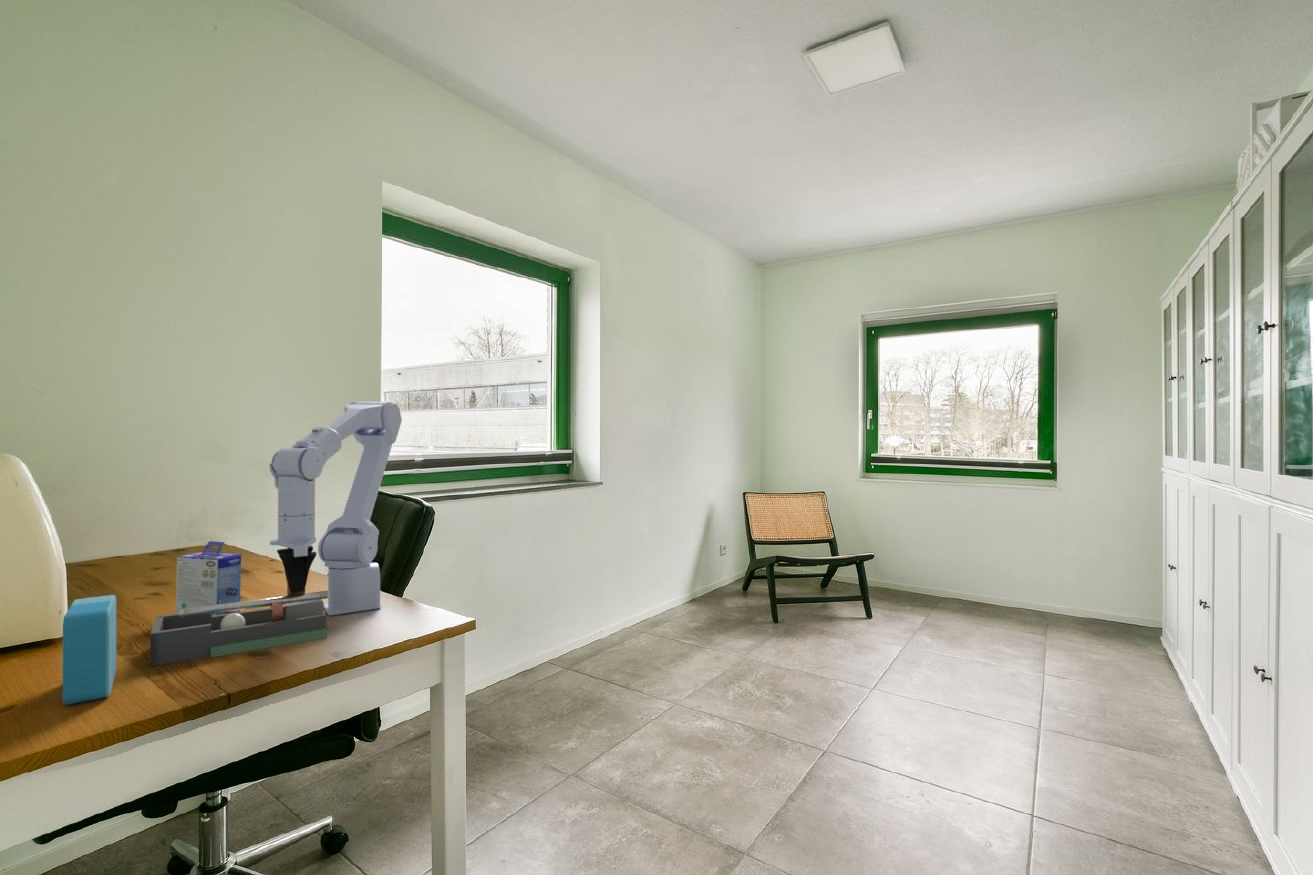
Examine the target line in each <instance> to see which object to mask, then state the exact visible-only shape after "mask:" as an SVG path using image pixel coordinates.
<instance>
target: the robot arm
mask: <svg viewBox="0 0 1313 875" xmlns="http://www.w3.org/2000/svg"><path fill="white" fill-rule="evenodd" d="M402 421H403V419H402V414H401V410H400V408H399V405H398V404H397V403H396V402H395V401H393V400H389V401H358V400H352V401H350V402H349V404H346V405H345V406H344V408H343V413H342V414H341V415H340V416H339V417H338V418H336V420H335V421H333V422H332V423H331V424H330V425H329V426H328V427H327V426H315V427H313V428H312V429H311V432H310V433H309V434H307V435H306V436H304V437H303V438H301V439H299V440H297V441H296V442H295V443H294V444H293V445H292V446H291V447H281V448H280V449H279V450H277V451H276V452H275V453H274V454H273V455H272V458H271V462H270V463H269V464H268V465H269V471H270V473H271V475H272V477H273V479H274V486H275V489H277V539H276V538H275V539H271V540H269V545H270V546H280V547H283V548H280V549H277V550H276V552H277V554H278V558H280V561H281V563H282V565H283V568H284V573H285V578H286V581H287V579H288V585H289V589H290V592H291V593H295V592H303V591H304V590H305V591H306V585H307V581H308V576H309V574H310V569H311V566H312V564H313V562H314V561H315V558H316V556H317V553H318V557H319V558H320V560H321V561H322V562H323V563H324V567H326V568H328V569H327V571H328V573H327V578H328V579H327V581H328V583H327V584H328V585H327V587H328V588H327V591H328V598H327V603H324V609H325V610H324V611H325V612H326V613H327V615H328V616H336V615H337V616H338V615H342V614H343V615H344V614H348V613H349V614H350V613H357V612H362V611H363V612H364V611H369V610H376V609H381V608H382V607H381V573H380V572H381V571H380V566H379V563H378V562H373V560H374V559H375V557H376V556H377V553H378V549H379V548H378V547H379V545H378V542H379V541H378V540H379V535H380V531H379V529H378V528H377V527H376V525H375V524H374V523H373V522H372V521H371V518H372V514H373V510H374V508H375V503H376V501H377V498H378V494H379V491H380V487H381V484H382V480H383V477H384V473H385V470H386V467H387V464H388V460H389V458H390V453H391V450H392V446H393V444H395V443H396V441H397V438H398V434H399V433H400V428H401V425H402ZM351 435H353V437H354V439H355V440H356V442H357V443H359V444H361V445H362V446H363V450H362V454H361V456H360V460H359V464H358V466H357V470H356V473H355V475H354V479H353V480H352V481H353V482H352V485H351V489H350V491H349V494H348V497H347V501H346V503H345V506H344V510H343V512H342V513H343V514H342V515H341V516H339V517H338V518H336V519H335V520H333V521H332V522H330V523H329V524H328V526H327V528H326V530H325V532H324V534H323V535H322V537H321V538H320V540H319V542H318V546H317V552H316V551H313V550H314V547H313V545H314V543H316V541H317V538H316V536H315V535H316V534H315V533H316V527H315V526H316V525H315V524H316V522H315V521H316V509H315V508H316V479H317V478H319V477H320V476H321V474H322V472H323V468H324V466H325V465H326V462H327V461H328V460H330V459H331V458H332V457H333V456H334V455H335V454H337V453H338V452H339V451H340V450H341V449H342V446H343V444H342V443H343V442H342V441H344V440H346V439H347V438H348V437H351Z"/></svg>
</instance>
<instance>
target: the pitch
mask: <svg viewBox="0 0 1313 875" xmlns="http://www.w3.org/2000/svg"><path fill="white" fill-rule="evenodd" d="M324 604H325V603H324V601H323V599H319V600H311V601H304V602H296V603H289V604H284V605H283V620H282V621H275V622H271V607H267V608H265V607H264V608H260V609H259V608H257V609H253V610H252V609H251V610H243V611H240V612H236V613H237V614H240V615H242V616H243V617H244V619H245V626H241V627H235V628H228V629H221V627H220V625H221V621H222V620H223V619H224V618H225V617H226V616H227V615H229V614H233V613H229V614H221V615H214V616H212V614H208V615H200V616H193V617H185V618H181V617H179V615H178V613H177V614H175V613H172V614H170V613H169V614H163V615H156V616H155V619H154V623H153V625H152V629H151V632H150V667H155V666H161V665H167V664H173V663H177V662H184V661H189V660H191V661H192V660H197V659H203V658H208V657H210V658H216V657H222V656H227V655H228V656H229V655H235V654H240V653H245V652H250V651H251V652H252V651H257V650H263V649H270V648H274V647H281V646H282V647H283V646H286V645H293V644H299V643H305V642H304V641H306V642H310V641H311V642H312V641H316V640H323V639H327V638H328V628H327V623H328V622H327V615H328V614H326V613H325V612H324V611H325V610H324V609H325V608H324Z"/></svg>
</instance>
